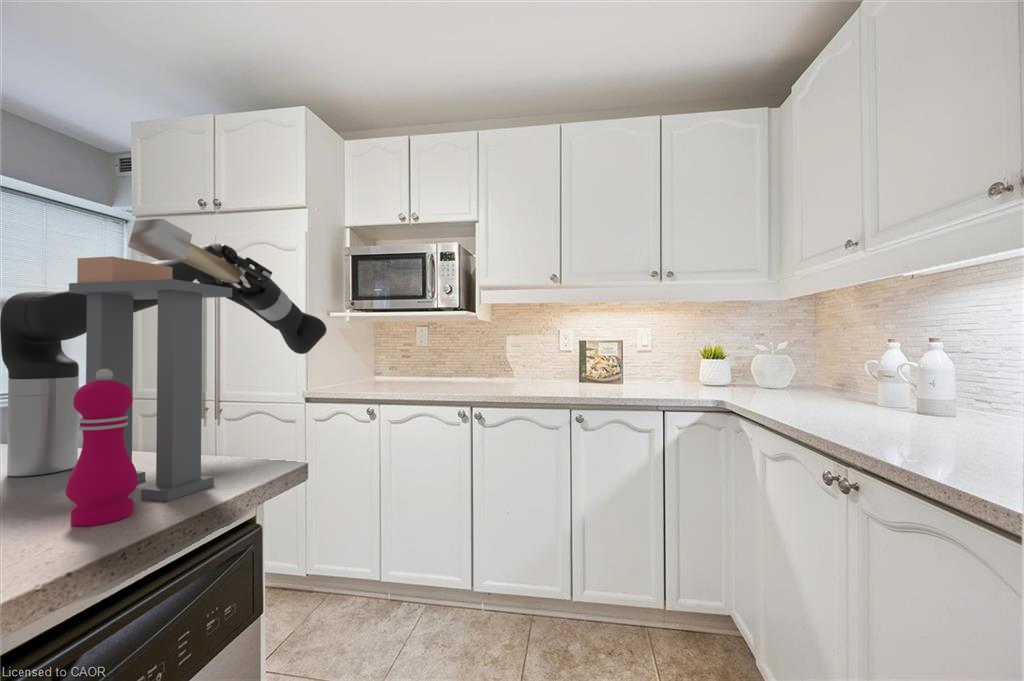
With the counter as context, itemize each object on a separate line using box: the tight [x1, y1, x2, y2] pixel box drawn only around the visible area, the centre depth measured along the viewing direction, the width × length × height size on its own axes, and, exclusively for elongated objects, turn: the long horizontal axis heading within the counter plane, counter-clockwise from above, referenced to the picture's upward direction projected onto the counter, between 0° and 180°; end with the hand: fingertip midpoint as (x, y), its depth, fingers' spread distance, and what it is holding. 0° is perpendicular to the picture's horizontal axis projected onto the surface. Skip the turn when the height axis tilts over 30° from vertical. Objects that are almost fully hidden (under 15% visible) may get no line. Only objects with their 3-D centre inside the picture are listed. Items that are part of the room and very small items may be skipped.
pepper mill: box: [65, 369, 139, 528], centre depth 62 cm, size 7×7×20 cm
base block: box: [76, 255, 172, 283], centre depth 77 cm, size 7×10×4 cm
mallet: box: [127, 218, 240, 283], centre depth 90 cm, size 6×20×5 cm, turn 168°
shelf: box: [68, 279, 232, 502], centre depth 76 cm, size 20×11×33 cm, turn 78°
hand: (213, 248), depth 94 cm, fingers closed on mallet, 3 cm apart
